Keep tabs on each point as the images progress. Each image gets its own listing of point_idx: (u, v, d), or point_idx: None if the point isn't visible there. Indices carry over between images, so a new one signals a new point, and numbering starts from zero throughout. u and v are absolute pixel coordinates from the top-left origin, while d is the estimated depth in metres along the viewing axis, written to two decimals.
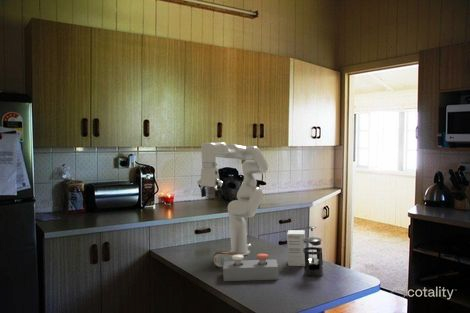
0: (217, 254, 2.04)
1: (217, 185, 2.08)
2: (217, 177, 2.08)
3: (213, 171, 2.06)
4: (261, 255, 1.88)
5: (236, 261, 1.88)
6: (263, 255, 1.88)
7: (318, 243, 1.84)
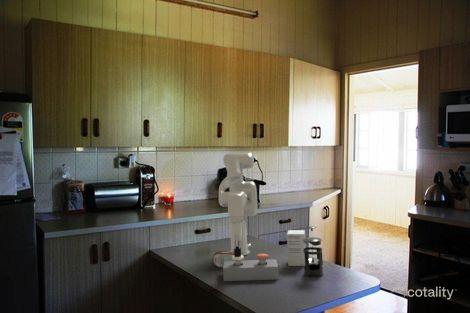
0: (217, 254, 2.04)
1: None
2: None
3: None
4: (261, 255, 1.88)
5: (236, 261, 1.88)
6: (263, 255, 1.88)
7: (318, 243, 1.84)
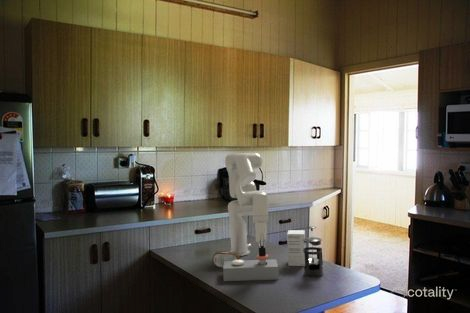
0: (217, 254, 2.04)
1: None
2: None
3: None
4: None
5: None
6: None
7: (318, 243, 1.84)
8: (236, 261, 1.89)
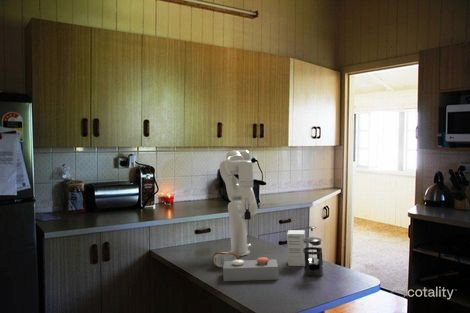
0: (217, 254, 2.04)
1: (245, 206, 2.05)
2: None
3: None
4: (261, 259, 1.88)
5: None
6: (263, 259, 1.88)
7: (318, 243, 1.84)
8: (236, 261, 1.89)
